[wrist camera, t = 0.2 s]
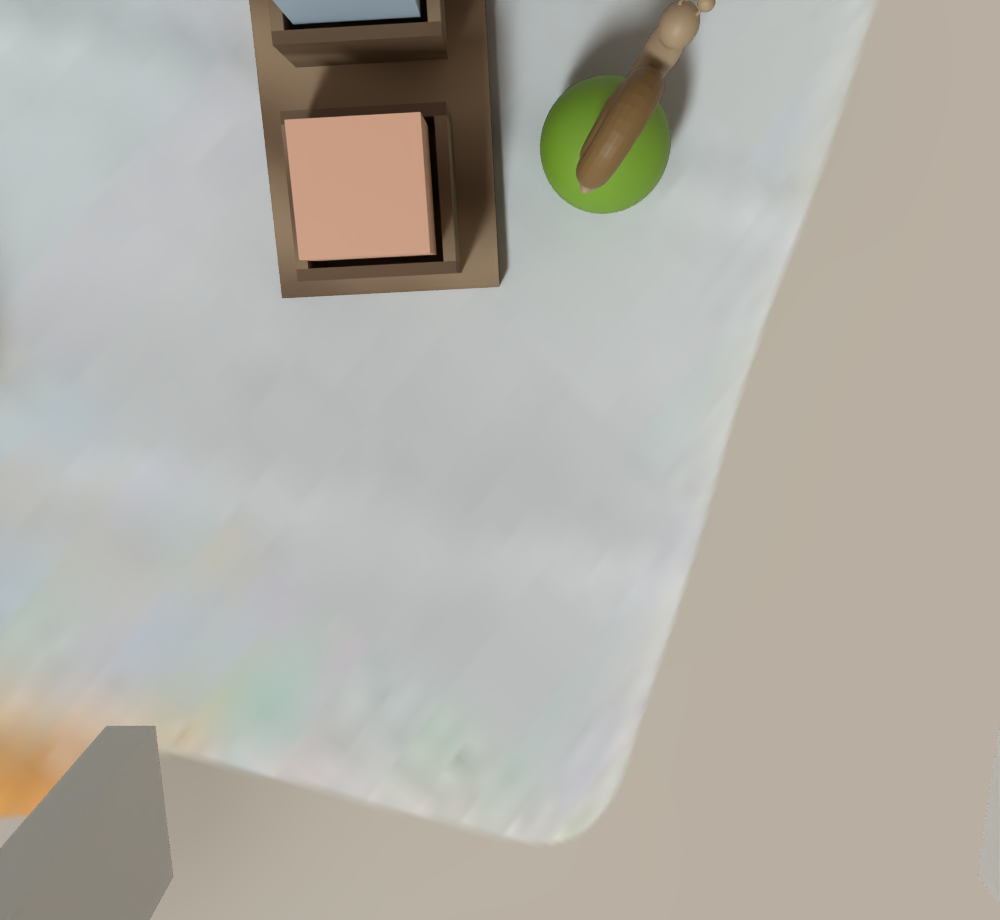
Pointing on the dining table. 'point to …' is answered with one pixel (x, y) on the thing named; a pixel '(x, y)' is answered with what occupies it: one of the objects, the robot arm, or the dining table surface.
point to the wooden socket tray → (386, 90)
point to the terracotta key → (361, 186)
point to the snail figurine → (617, 124)
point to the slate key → (346, 10)
